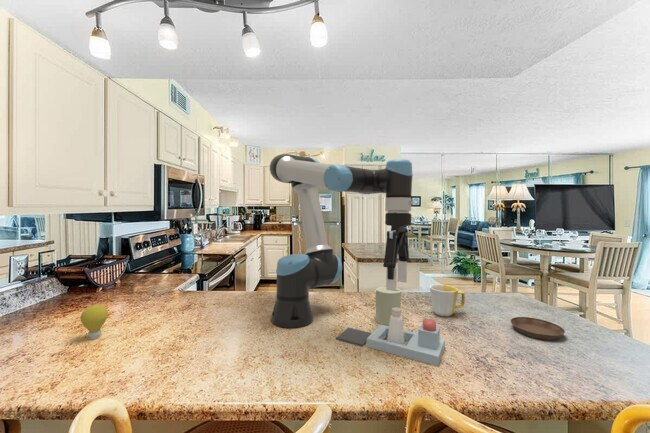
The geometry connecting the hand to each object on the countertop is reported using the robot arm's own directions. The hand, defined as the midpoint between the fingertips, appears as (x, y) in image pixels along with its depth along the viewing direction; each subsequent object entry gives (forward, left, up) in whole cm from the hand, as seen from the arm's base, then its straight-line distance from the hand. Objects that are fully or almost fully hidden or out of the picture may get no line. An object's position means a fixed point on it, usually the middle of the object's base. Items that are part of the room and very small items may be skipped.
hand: (396, 285), depth 86 cm
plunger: (+10, 0, -11) cm, 14 cm away
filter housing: (+3, 0, -18) cm, 18 cm away
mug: (+10, +36, -18) cm, 42 cm away
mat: (-12, -2, -18) cm, 22 cm away
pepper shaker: (0, 0, -18) cm, 18 cm away
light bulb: (-81, -45, -18) cm, 94 cm away
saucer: (+38, +34, -18) cm, 54 cm away
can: (-8, +17, -18) cm, 26 cm away
